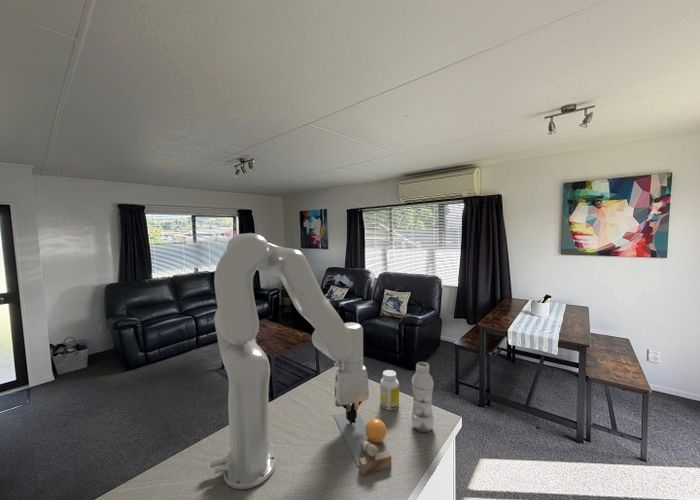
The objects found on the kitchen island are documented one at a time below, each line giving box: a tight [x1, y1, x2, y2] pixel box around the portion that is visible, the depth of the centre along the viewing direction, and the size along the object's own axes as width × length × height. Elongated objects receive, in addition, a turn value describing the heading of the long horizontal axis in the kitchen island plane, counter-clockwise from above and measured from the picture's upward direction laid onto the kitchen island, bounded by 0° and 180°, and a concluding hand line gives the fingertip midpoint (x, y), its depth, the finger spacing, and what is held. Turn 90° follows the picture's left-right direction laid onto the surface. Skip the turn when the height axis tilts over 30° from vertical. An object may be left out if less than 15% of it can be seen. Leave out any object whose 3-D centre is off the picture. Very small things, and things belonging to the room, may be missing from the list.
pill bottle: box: [379, 369, 400, 411], centre depth 99 cm, size 6×6×12 cm
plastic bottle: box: [411, 361, 435, 433], centre depth 87 cm, size 6×7×20 cm
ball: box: [365, 418, 387, 444], centre depth 82 cm, size 6×6×6 cm
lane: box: [333, 411, 383, 468], centre depth 85 cm, size 8×22×1 cm, turn 20°
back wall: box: [358, 450, 392, 477], centre depth 73 cm, size 8×2×3 cm, turn 110°
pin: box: [360, 440, 378, 457], centre depth 76 cm, size 2×2×8 cm
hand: (351, 420), depth 89 cm, fingers closed
